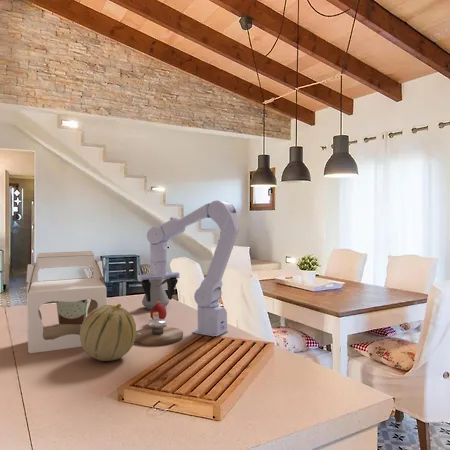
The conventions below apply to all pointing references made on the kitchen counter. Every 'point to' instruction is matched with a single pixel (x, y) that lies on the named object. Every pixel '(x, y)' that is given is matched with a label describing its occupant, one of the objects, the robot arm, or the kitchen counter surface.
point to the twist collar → (157, 321)
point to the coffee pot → (156, 294)
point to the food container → (71, 312)
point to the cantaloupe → (108, 332)
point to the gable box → (61, 298)
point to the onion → (158, 310)
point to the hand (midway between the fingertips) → (159, 300)
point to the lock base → (158, 336)
